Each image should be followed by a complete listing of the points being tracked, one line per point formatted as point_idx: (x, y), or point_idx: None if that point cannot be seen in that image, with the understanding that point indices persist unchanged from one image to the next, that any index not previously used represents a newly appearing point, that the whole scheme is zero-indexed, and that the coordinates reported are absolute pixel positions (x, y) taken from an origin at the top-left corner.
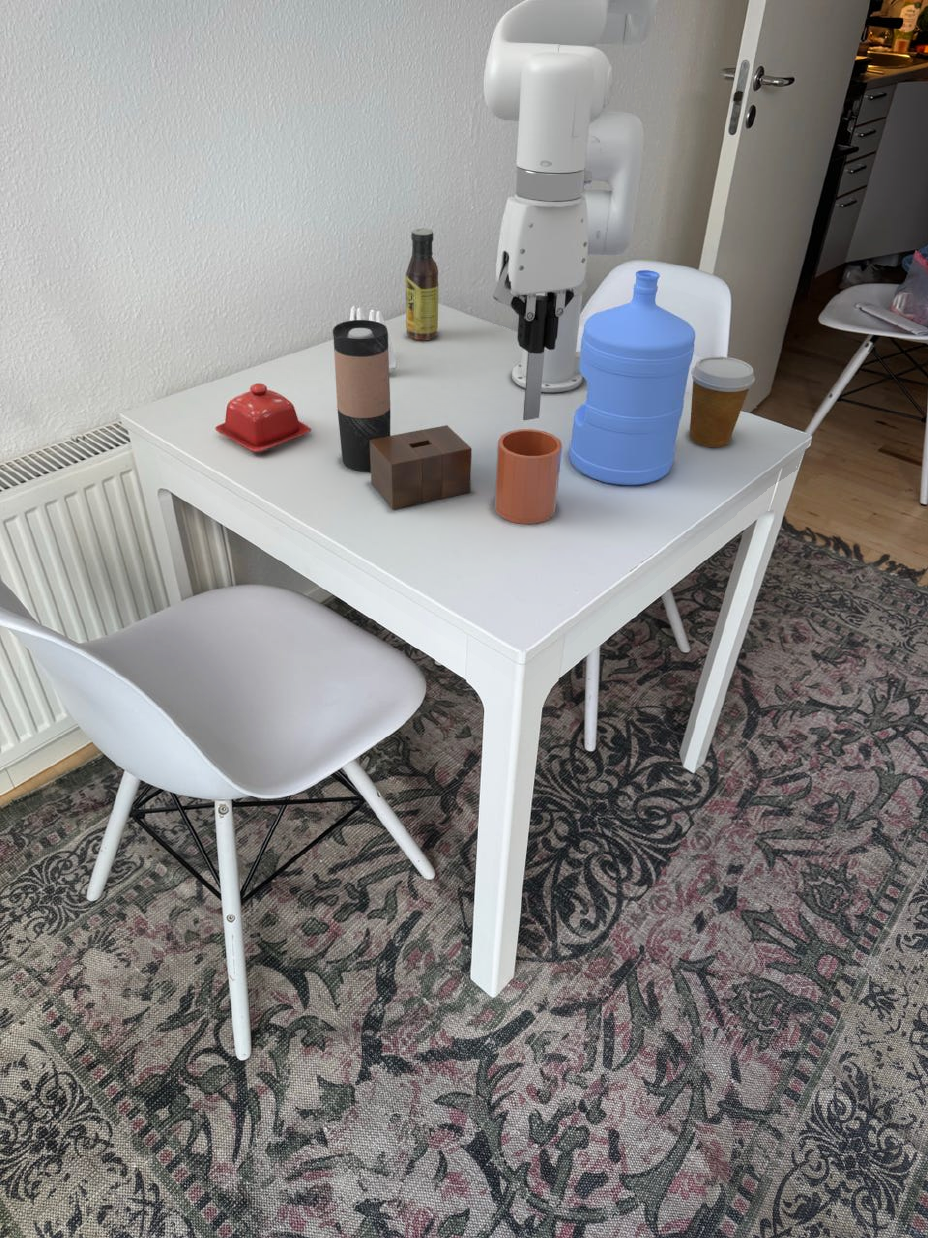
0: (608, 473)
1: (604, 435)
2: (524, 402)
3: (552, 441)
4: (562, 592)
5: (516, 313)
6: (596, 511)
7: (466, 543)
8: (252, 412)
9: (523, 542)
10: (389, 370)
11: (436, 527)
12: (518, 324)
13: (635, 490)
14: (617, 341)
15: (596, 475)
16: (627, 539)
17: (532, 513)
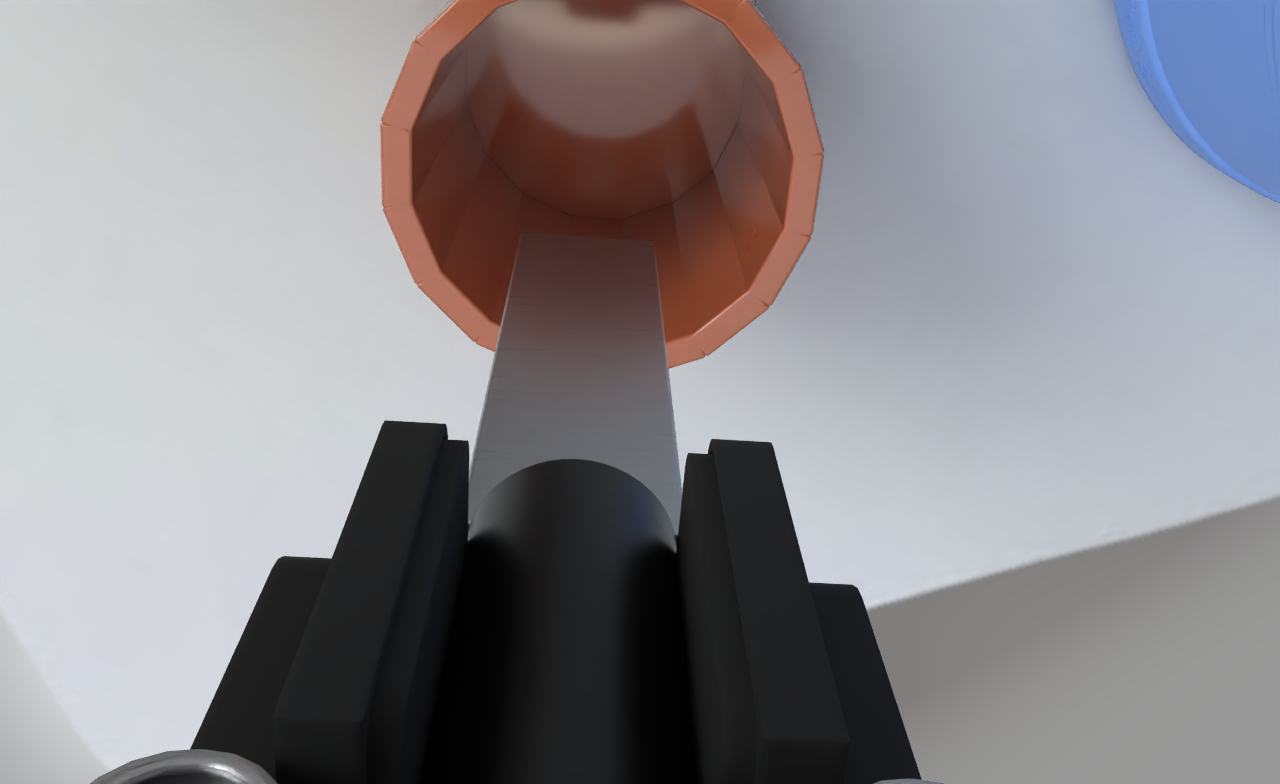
0: (1160, 103)
1: (1255, 99)
2: (509, 286)
3: (784, 181)
4: None
5: (131, 768)
6: (899, 266)
7: (187, 217)
8: None
9: (437, 326)
10: None
11: (94, 20)
12: (208, 712)
13: (1212, 195)
14: None
15: (1125, 35)
16: (852, 498)
17: None
